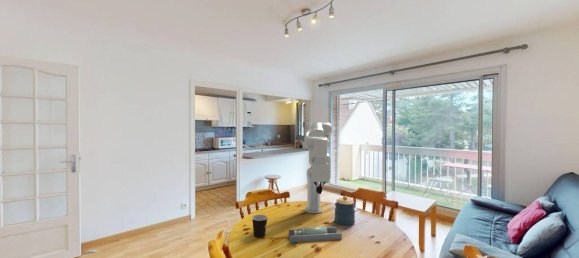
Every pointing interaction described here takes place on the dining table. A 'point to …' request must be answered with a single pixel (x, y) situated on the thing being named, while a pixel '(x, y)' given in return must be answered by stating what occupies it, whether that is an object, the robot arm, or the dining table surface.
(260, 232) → the coffee mug
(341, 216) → the canister
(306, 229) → the bottle
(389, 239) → the dining table surface
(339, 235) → the u rest
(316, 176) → the robot arm
